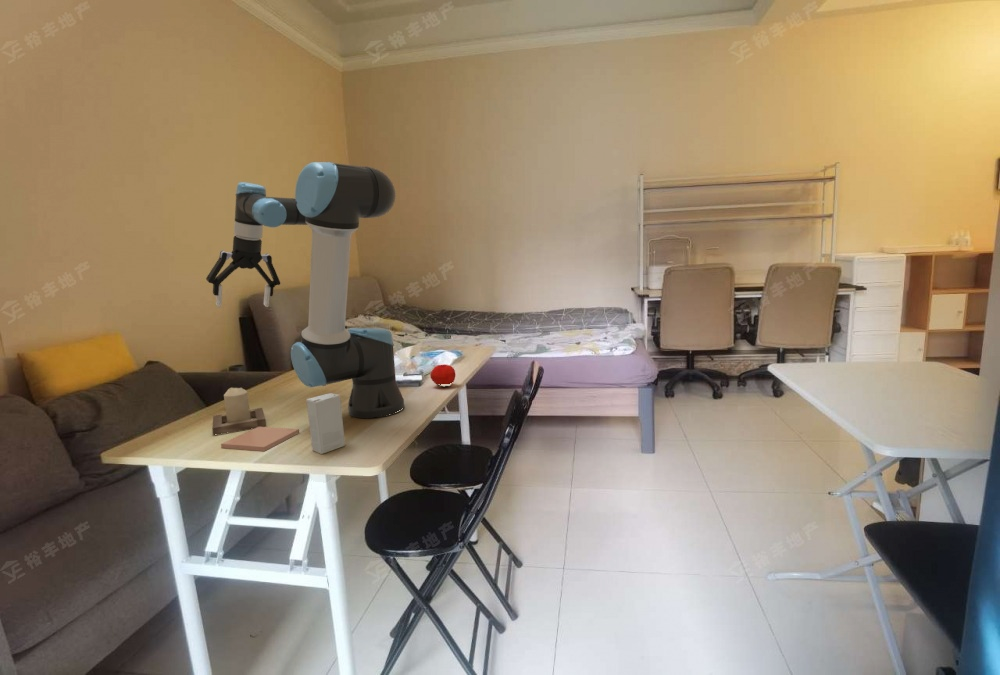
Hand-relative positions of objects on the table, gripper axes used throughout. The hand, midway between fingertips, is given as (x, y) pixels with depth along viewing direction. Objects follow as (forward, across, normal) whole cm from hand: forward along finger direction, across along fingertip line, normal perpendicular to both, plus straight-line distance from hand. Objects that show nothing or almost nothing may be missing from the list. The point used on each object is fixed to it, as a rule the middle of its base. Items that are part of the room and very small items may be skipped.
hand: (242, 305), depth 155 cm
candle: (+23, +9, +33) cm, 41 cm away
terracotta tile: (+18, +9, +50) cm, 53 cm away
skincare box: (+12, +1, +67) cm, 68 cm away
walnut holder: (+22, +9, +33) cm, 41 cm away
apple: (+14, -49, +43) cm, 67 cm away
